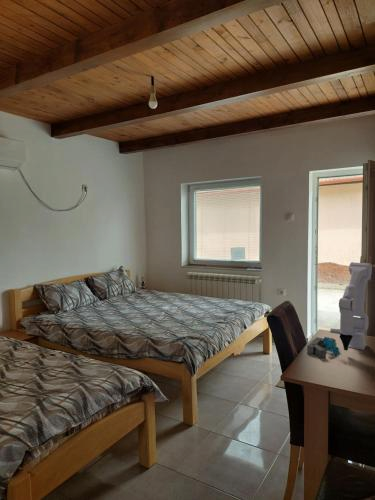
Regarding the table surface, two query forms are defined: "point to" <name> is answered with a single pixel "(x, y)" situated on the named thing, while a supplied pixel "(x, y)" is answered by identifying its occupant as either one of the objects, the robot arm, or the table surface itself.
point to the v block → (318, 347)
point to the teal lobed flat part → (331, 346)
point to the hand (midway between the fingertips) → (345, 349)
